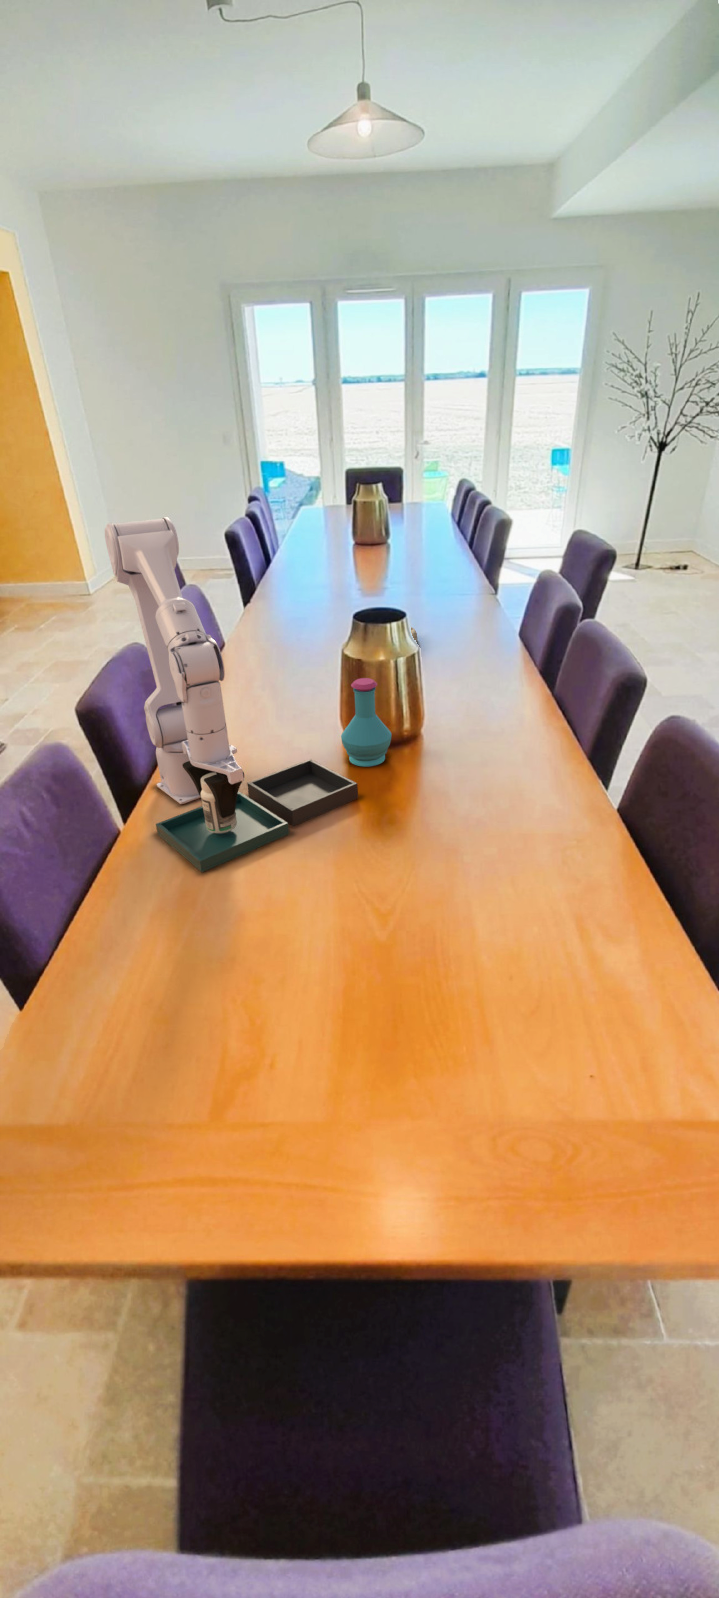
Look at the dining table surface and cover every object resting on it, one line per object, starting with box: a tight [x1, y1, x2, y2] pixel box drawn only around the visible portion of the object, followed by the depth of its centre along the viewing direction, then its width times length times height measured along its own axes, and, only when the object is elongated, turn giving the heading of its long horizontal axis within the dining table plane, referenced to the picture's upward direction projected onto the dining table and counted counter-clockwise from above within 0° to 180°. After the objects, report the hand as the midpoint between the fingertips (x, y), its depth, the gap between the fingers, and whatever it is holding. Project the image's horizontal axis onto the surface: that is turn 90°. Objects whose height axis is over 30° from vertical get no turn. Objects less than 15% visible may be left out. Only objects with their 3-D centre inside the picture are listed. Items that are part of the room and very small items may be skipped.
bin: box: [246, 758, 359, 827], centre depth 120 cm, size 13×13×3 cm
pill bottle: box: [200, 772, 237, 833], centre depth 109 cm, size 5×5×8 cm
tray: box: [155, 791, 290, 873], centre depth 111 cm, size 14×15×2 cm
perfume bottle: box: [340, 677, 392, 768], centre depth 130 cm, size 9×9×15 cm
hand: (219, 809), depth 109 cm, fingers closed on pill bottle, 5 cm apart
